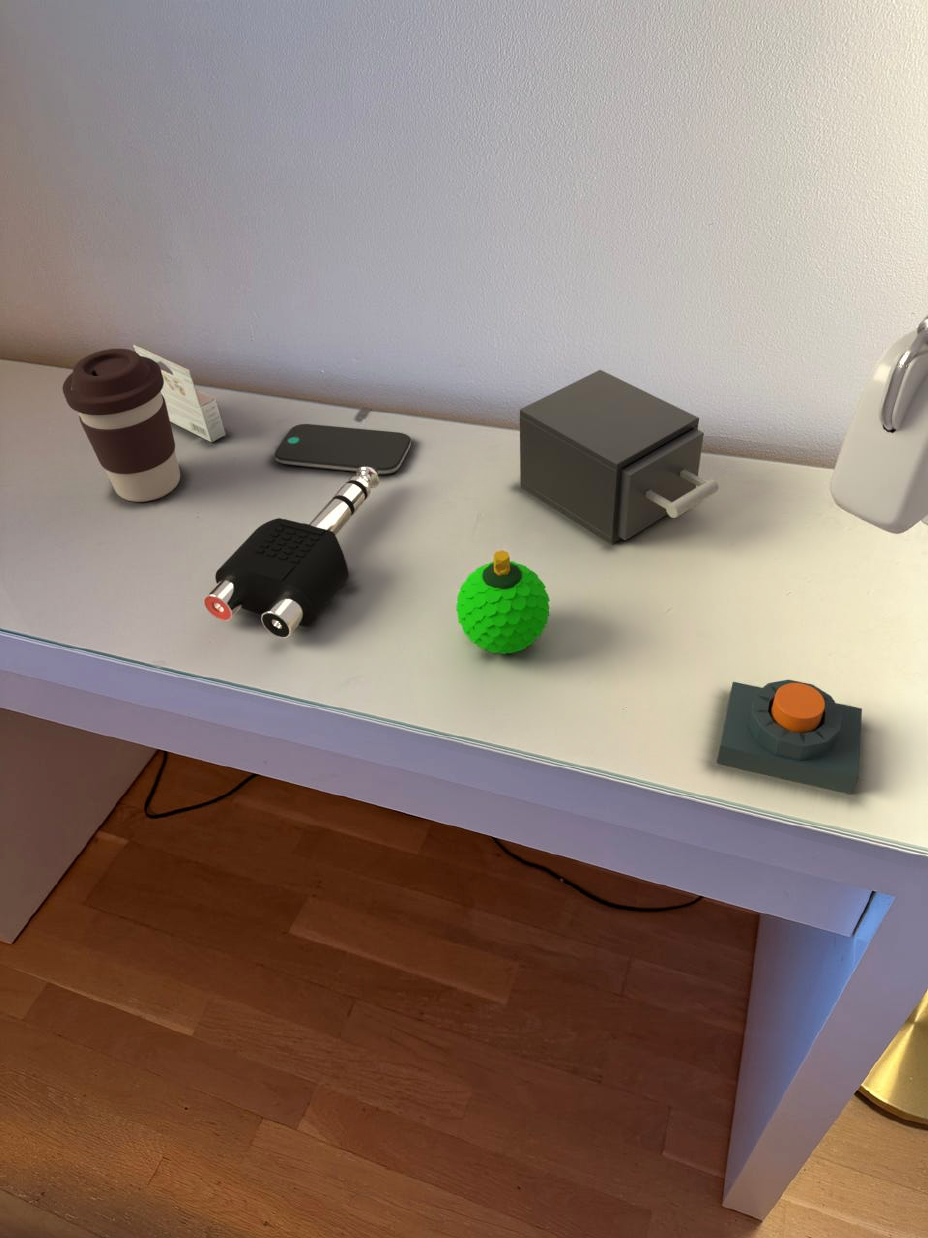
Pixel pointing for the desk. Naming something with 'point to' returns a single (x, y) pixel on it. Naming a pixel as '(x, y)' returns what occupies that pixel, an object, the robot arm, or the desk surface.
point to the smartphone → (343, 448)
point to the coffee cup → (126, 421)
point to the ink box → (187, 401)
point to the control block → (791, 740)
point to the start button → (798, 707)
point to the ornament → (503, 605)
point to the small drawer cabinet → (592, 445)
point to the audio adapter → (290, 564)
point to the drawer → (662, 484)
